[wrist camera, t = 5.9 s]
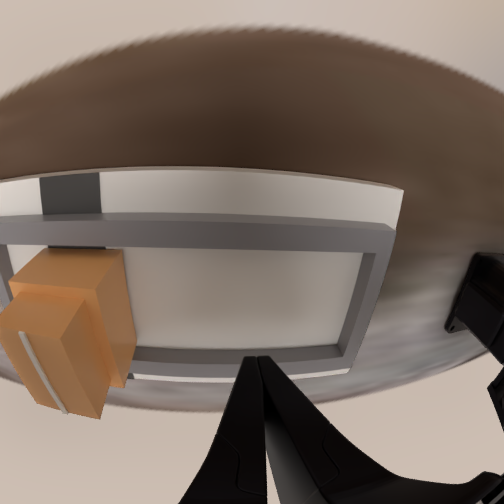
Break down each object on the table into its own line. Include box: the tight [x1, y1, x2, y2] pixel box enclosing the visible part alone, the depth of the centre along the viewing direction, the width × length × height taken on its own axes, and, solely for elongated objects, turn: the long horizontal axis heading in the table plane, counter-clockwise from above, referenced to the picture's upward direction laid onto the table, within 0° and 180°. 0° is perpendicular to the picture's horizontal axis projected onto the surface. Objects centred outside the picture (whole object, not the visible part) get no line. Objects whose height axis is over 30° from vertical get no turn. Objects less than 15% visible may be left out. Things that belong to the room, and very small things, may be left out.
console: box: [0, 166, 404, 382], centre depth 12 cm, size 20×11×2 cm, turn 86°
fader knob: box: [0, 248, 137, 419], centre depth 9 cm, size 4×5×5 cm
